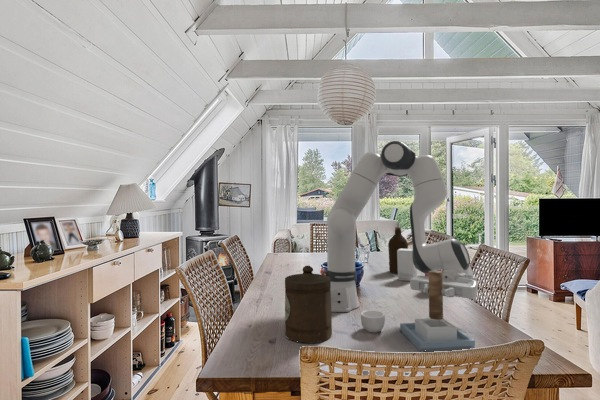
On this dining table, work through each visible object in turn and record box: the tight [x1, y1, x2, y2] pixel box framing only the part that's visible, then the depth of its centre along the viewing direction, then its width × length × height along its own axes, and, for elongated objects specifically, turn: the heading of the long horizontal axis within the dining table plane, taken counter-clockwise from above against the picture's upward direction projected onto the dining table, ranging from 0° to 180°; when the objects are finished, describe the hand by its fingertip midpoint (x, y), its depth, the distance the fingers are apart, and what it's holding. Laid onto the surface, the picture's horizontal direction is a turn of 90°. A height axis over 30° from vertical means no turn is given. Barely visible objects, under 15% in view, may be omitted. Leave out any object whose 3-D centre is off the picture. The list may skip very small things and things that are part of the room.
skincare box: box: [397, 248, 418, 282], centre depth 191 cm, size 8×7×16 cm
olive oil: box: [387, 226, 409, 275], centre depth 209 cm, size 11×11×25 cm
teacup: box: [360, 309, 386, 334], centre depth 124 cm, size 10×8×5 cm
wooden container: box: [284, 265, 333, 344], centre depth 120 cm, size 15×15×22 cm
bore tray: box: [399, 317, 476, 352], centre depth 115 cm, size 16×16×5 cm
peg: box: [428, 270, 444, 320], centre depth 115 cm, size 4×4×14 cm
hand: (434, 292), depth 114 cm, fingers closed on peg, 4 cm apart
